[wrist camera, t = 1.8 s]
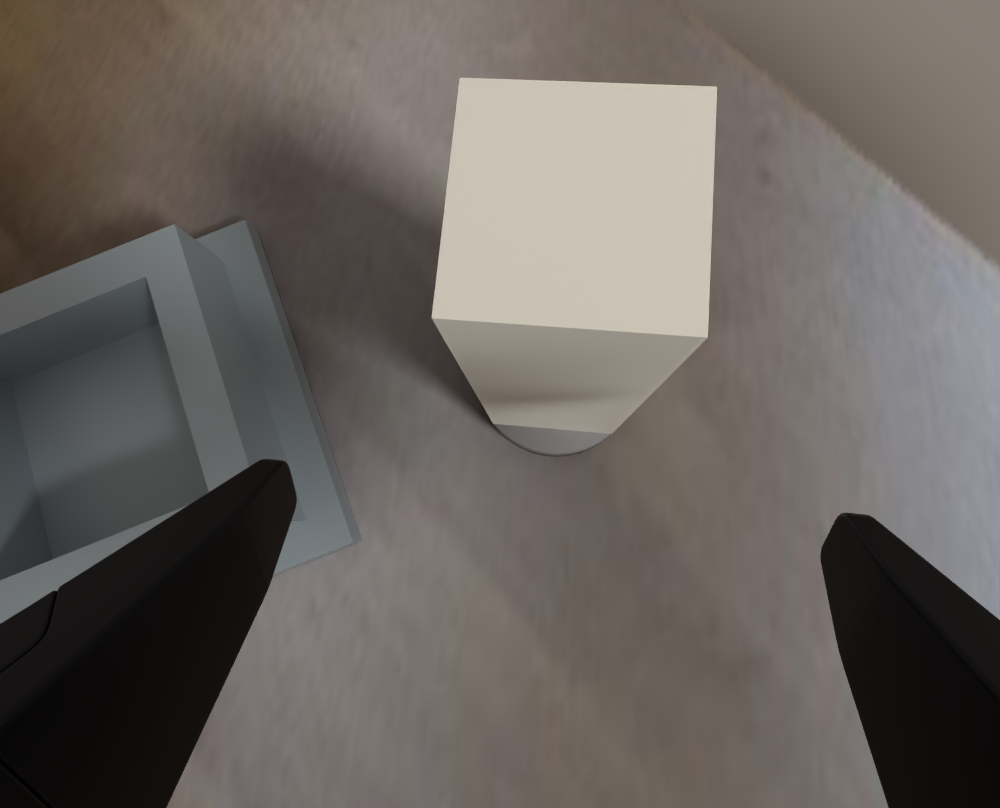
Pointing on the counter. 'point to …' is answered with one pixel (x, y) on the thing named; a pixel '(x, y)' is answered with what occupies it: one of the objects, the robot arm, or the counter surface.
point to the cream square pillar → (575, 250)
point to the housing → (150, 405)
